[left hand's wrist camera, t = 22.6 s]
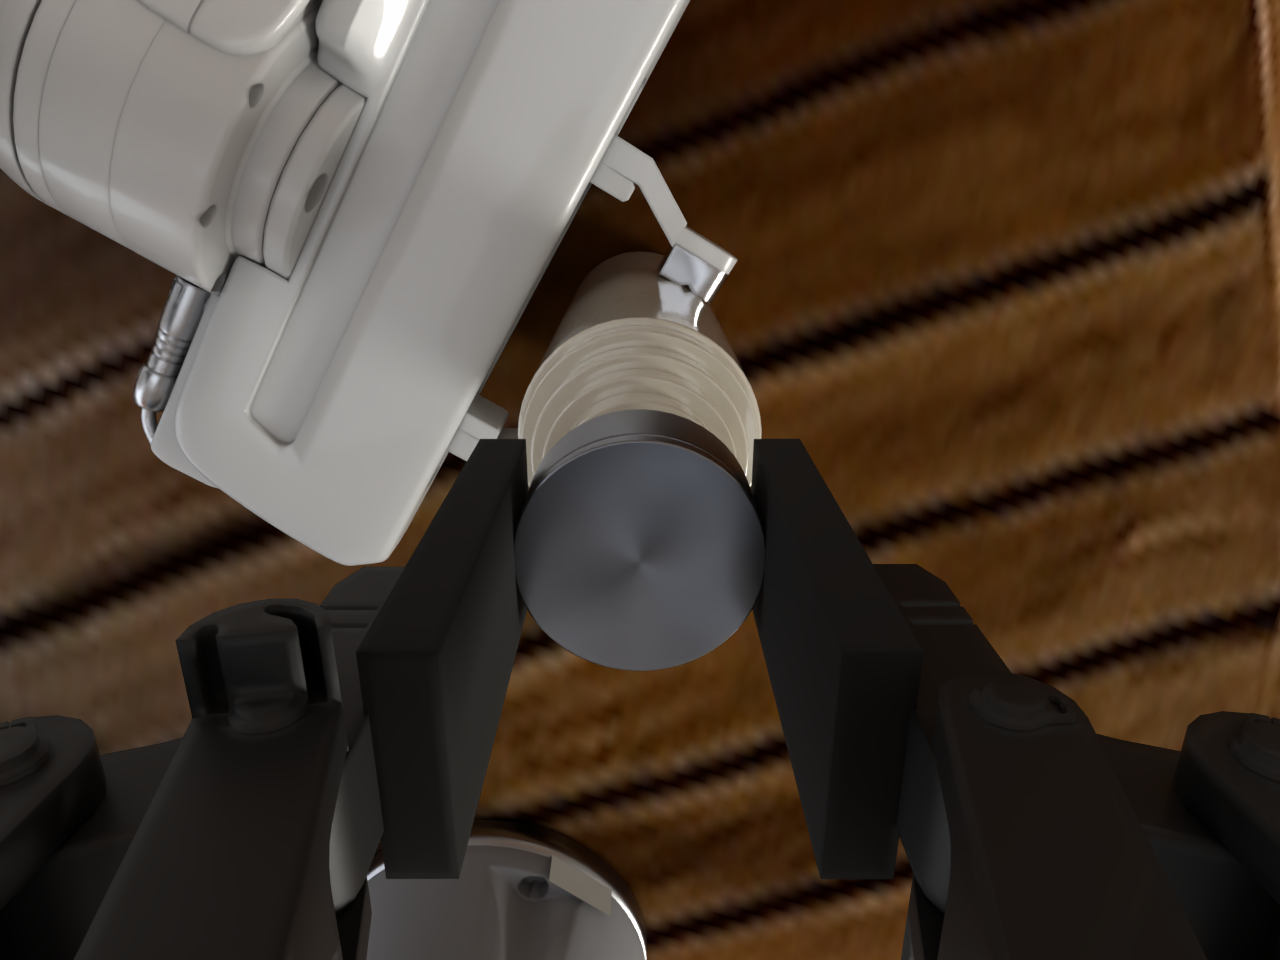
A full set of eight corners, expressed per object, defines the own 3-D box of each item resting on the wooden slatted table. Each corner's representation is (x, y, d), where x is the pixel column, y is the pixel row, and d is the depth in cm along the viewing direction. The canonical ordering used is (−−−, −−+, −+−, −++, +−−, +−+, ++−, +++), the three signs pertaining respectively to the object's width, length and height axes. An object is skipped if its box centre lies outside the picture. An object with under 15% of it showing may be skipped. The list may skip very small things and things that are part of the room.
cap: (578, 645, 15) (570, 702, 14) (488, 456, 14) (470, 493, 12) (782, 576, 15) (800, 626, 13) (708, 373, 13) (719, 402, 12)
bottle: (576, 397, 33) (497, 692, 14) (562, 257, 31) (448, 391, 13) (713, 387, 33) (808, 672, 14) (706, 245, 31) (805, 363, 12)
